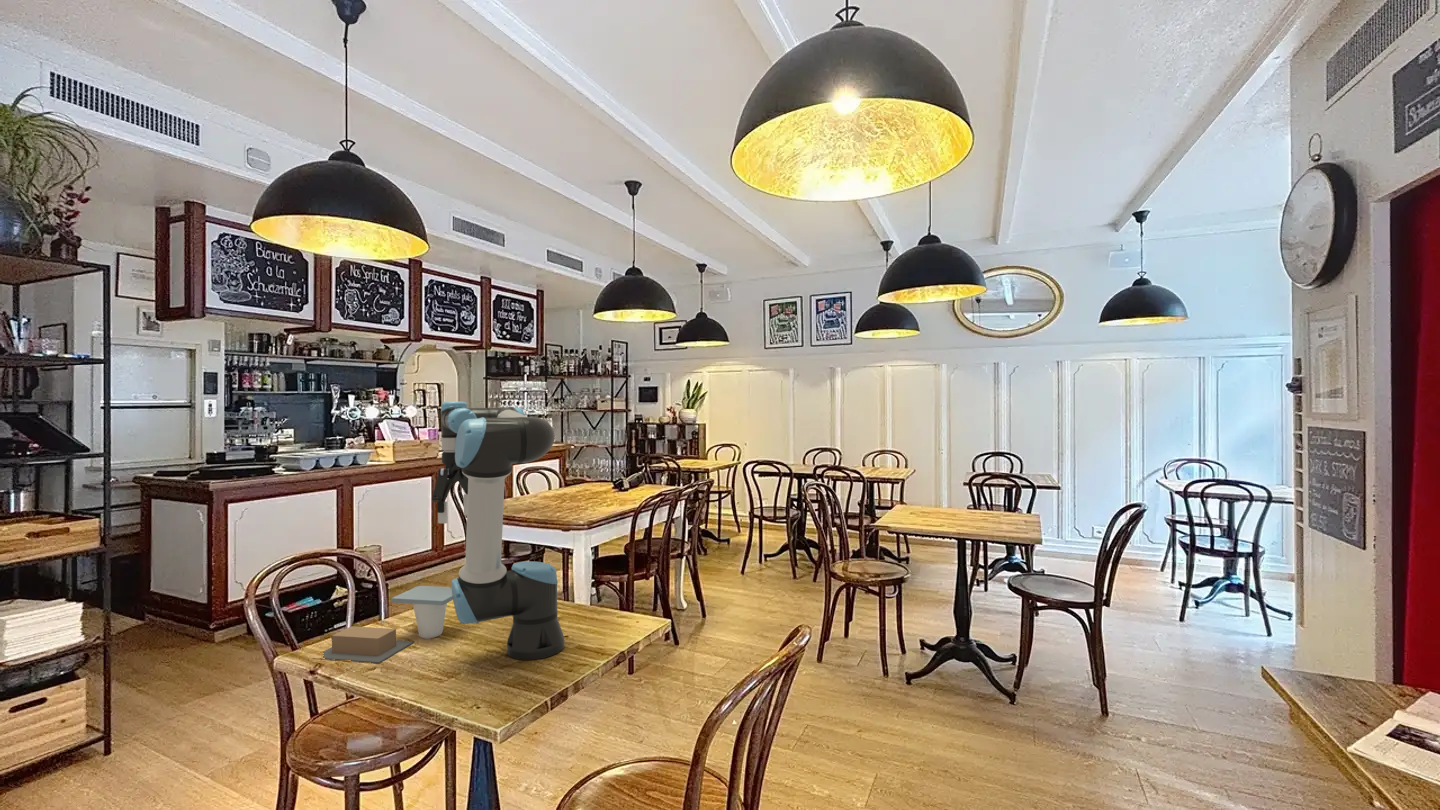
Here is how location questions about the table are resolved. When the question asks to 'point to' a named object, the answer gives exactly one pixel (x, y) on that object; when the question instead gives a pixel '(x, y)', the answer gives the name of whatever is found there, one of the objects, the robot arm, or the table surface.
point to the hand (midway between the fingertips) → (455, 518)
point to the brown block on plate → (365, 644)
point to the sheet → (425, 595)
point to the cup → (430, 619)
